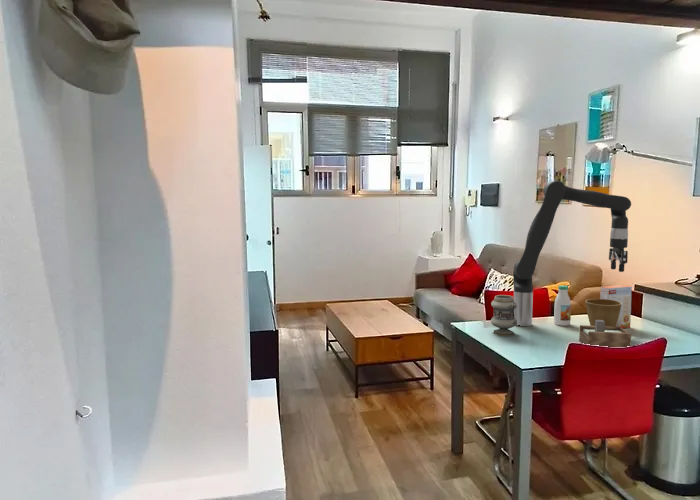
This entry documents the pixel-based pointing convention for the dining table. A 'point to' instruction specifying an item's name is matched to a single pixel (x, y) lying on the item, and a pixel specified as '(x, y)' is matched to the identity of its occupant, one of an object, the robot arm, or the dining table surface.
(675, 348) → the dining table surface
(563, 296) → the milk bottle
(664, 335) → the dining table surface
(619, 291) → the cracker box
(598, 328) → the lid
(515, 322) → the apothecary jar
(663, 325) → the dining table surface
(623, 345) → the walnut box
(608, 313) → the plant pot
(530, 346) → the dining table surface
